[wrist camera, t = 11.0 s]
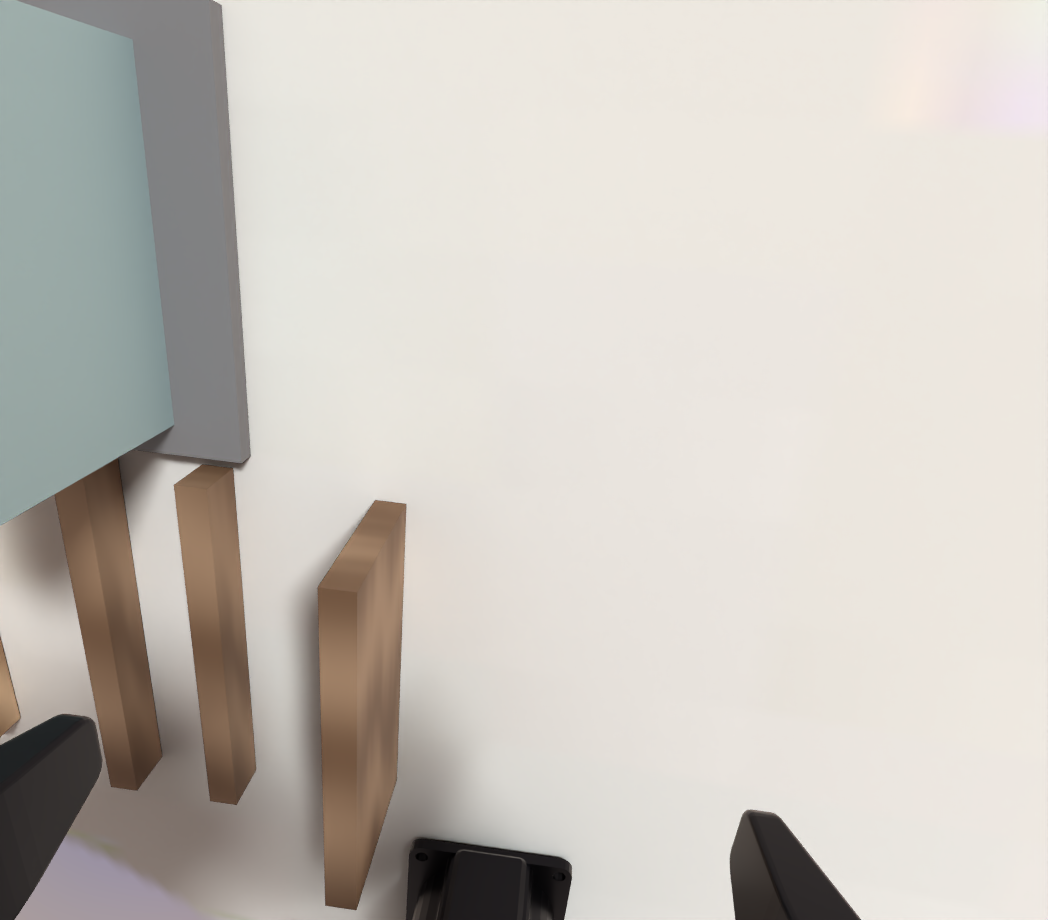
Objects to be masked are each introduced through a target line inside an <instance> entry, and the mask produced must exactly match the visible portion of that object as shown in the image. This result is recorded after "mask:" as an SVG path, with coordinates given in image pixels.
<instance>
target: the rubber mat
mask: <svg viewBox="0 0 1048 920" xmlns="http://www.w3.org/2000/svg"><path fill="white" fill-rule="evenodd" d="M17 1H20V2H22V3H25V4H28V5H31V6H34V7H37V8H40V9H43V10H46V11H49V12H52V13H55V14H58V15H61V16H64V17H67V18H70V19H73V20H76V21H79V22H82V23H85V24H88V25H91V26H94V27H97V28H100V29H103V30H106V31H109V32H112V33H115V34H118V35H121V36H124V37H127V38H130V39H133V49H134V58H135V67H136V76H137V85H138V95H139V104H140V113H141V122H142V132H143V141H144V150H145V159H146V169H147V178H148V187H149V196H150V205H151V215H152V224H153V233H154V242H155V252H156V261H157V270H158V279H159V288H160V298H161V307H162V316H163V325H164V335H165V344H166V353H167V362H168V371H169V381H170V390H171V399H172V408H173V418H174V425H173V426H172V427H170V428H168V429H166V430H165V431H163V432H161V433H159V434H158V435H156V436H154V437H153V438H151V439H149V440H147V441H146V442H144V443H142V444H140V445H139V446H137V447H135V448H134V449H132V450H139V451H147V452H155V453H163V454H171V455H179V456H187V457H195V458H203V459H211V460H219V461H227V462H235V463H243V462H244V461H245V460H246V459H247V458H249V457H250V456H251V455H250V439H249V424H248V408H247V393H246V377H245V362H244V346H243V331H242V315H241V300H240V285H239V269H238V254H237V238H236V223H235V207H234V192H233V176H232V161H231V145H230V130H229V114H228V99H227V83H226V68H225V52H224V37H223V22H222V6H221V5H220V4H218V3H217V2H215V1H213V0H17Z"/></svg>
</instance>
